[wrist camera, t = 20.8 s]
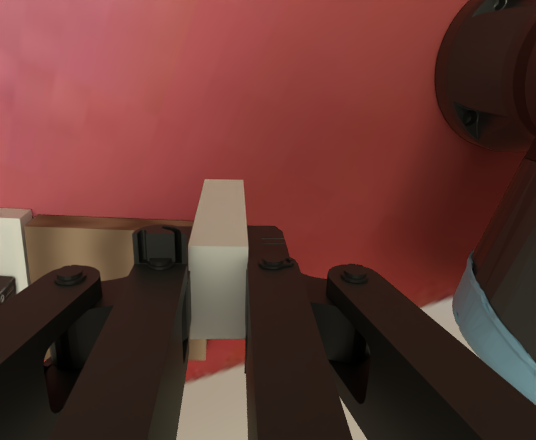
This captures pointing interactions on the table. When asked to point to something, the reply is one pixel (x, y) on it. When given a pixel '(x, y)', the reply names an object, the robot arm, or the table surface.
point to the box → (7, 288)
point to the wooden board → (90, 250)
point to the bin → (14, 246)
